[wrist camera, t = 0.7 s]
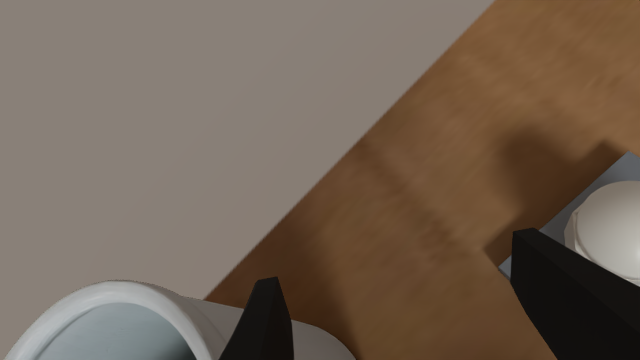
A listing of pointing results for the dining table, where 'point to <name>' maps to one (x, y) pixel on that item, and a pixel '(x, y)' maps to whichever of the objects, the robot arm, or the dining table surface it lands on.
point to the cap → (609, 229)
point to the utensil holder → (148, 328)
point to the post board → (621, 170)
